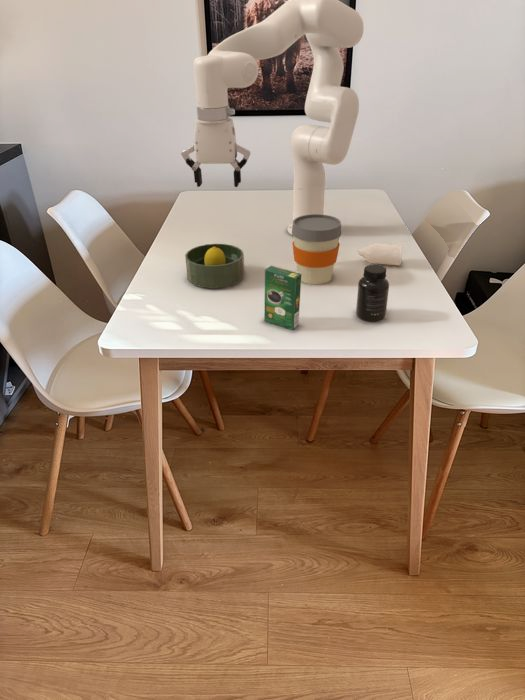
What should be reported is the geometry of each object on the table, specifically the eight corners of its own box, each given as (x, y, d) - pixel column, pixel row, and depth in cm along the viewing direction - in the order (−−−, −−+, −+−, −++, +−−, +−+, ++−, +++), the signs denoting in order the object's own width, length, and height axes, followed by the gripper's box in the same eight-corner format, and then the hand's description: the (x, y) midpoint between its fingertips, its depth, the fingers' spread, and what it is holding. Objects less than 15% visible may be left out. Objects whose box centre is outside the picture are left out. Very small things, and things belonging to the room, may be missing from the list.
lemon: (223, 280, 145) (221, 251, 141) (202, 278, 146) (200, 250, 142) (228, 271, 150) (227, 243, 146) (208, 270, 151) (206, 242, 147)
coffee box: (300, 326, 126) (302, 272, 119) (294, 331, 124) (295, 277, 117) (270, 316, 130) (270, 264, 123) (263, 322, 128) (263, 269, 121)
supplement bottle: (352, 309, 132) (356, 262, 126) (381, 308, 133) (386, 261, 126) (359, 324, 126) (363, 275, 120) (389, 322, 127) (395, 274, 120)
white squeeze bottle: (356, 257, 159) (358, 238, 156) (400, 260, 157) (402, 241, 154) (355, 265, 154) (356, 246, 151) (399, 269, 152) (402, 249, 149)
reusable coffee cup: (306, 291, 141) (308, 234, 133) (282, 273, 150) (282, 218, 142) (347, 281, 146) (352, 225, 138) (321, 264, 155) (324, 211, 147)
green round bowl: (248, 267, 154) (247, 244, 150) (239, 291, 141) (238, 267, 138) (194, 264, 156) (193, 242, 152) (181, 288, 143) (178, 264, 140)
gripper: (250, 110, 136) (253, 181, 145) (181, 111, 138) (188, 180, 147) (246, 117, 130) (249, 190, 139) (173, 117, 132) (181, 189, 141)
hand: (218, 185), depth 143 cm, fingers open, 9 cm apart
